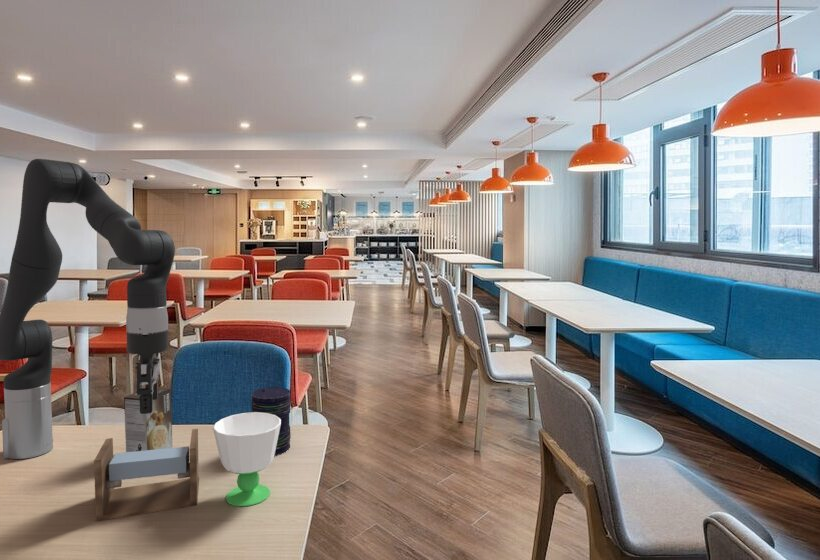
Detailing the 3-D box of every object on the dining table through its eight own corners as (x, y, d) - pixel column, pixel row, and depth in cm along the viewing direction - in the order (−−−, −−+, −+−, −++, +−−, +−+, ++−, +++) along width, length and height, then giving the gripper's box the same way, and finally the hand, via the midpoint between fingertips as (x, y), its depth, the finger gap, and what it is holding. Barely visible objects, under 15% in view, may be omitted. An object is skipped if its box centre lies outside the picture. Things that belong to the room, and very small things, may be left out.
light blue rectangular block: (109, 481, 98) (108, 464, 98) (116, 469, 103) (116, 453, 103) (186, 472, 102) (185, 456, 102) (189, 461, 107) (189, 446, 107)
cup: (293, 486, 110) (293, 416, 108) (255, 518, 97) (255, 440, 95) (242, 475, 114) (241, 408, 113) (199, 505, 101) (198, 430, 100)
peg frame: (95, 521, 95) (93, 460, 94) (107, 493, 105) (105, 438, 104) (197, 504, 101) (196, 448, 100) (199, 480, 111) (198, 428, 111)
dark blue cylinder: (298, 446, 131) (298, 391, 130) (269, 460, 122) (269, 401, 121) (272, 437, 136) (272, 384, 135) (243, 450, 128) (242, 393, 127)
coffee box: (151, 445, 129) (150, 385, 128) (173, 448, 128) (172, 387, 127) (124, 460, 120) (123, 396, 119) (147, 463, 119) (146, 398, 118)
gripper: (132, 323, 106) (133, 397, 107) (120, 335, 92) (122, 420, 94) (171, 322, 108) (172, 394, 110) (164, 333, 95) (166, 416, 96)
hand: (149, 406), depth 102 cm, fingers open, 8 cm apart
